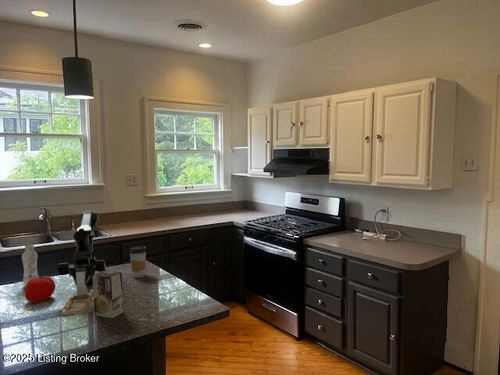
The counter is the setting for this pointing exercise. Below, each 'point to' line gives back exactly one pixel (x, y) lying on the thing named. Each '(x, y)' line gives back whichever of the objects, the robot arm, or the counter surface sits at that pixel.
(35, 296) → the tomato
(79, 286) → the fader knob
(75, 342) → the counter surface
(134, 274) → the coffee cup
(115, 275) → the coffee box
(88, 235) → the robot arm
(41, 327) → the counter surface
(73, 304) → the fader track
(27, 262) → the plastic bottle
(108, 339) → the counter surface
